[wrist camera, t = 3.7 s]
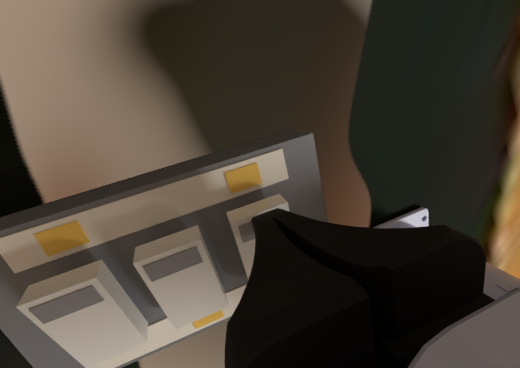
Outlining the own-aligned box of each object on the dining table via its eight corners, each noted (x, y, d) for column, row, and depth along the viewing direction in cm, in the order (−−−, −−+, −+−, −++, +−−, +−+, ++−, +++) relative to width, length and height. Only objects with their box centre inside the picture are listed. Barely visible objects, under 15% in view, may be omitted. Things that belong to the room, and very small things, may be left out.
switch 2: (224, 291, 15) (229, 307, 14) (174, 312, 14) (175, 331, 13) (197, 225, 12) (200, 239, 11) (135, 247, 12) (132, 265, 11)
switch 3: (294, 265, 15) (302, 278, 14) (249, 284, 15) (255, 299, 14) (279, 193, 13) (288, 202, 12) (226, 212, 13) (230, 223, 12)
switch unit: (314, 249, 20) (337, 273, 17) (78, 348, 17) (56, 399, 14) (291, 129, 17) (314, 133, 14) (-15, 221, 13) (-71, 254, 10)
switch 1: (148, 323, 14) (147, 343, 13) (91, 346, 13) (86, 370, 12) (101, 259, 11) (95, 278, 10) (28, 285, 11) (14, 308, 10)
